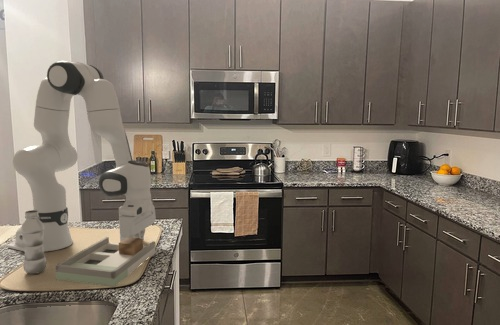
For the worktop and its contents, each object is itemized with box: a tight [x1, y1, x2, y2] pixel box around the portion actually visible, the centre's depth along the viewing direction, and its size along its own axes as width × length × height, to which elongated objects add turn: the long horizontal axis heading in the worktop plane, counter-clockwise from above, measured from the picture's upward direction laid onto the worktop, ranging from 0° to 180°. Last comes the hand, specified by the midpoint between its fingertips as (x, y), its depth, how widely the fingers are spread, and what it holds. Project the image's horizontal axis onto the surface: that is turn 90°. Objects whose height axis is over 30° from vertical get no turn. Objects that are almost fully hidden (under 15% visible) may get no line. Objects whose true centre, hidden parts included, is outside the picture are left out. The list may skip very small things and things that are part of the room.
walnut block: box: [118, 238, 144, 255], centre depth 132 cm, size 6×6×4 cm
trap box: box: [54, 236, 156, 287], centre depth 126 cm, size 20×27×4 cm
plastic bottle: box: [20, 209, 48, 275], centre depth 119 cm, size 6×7×20 cm
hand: (139, 241), depth 138 cm, fingers closed
